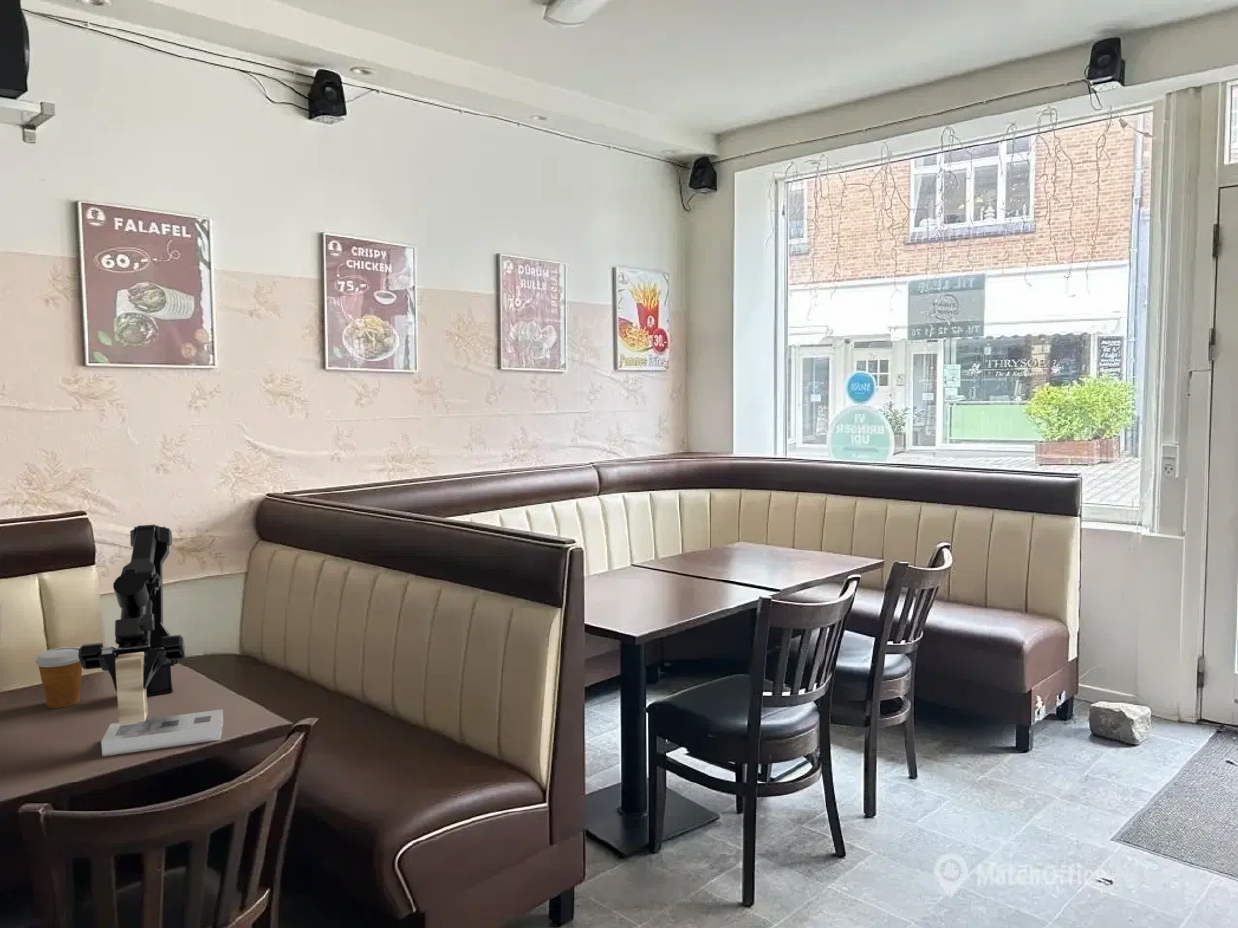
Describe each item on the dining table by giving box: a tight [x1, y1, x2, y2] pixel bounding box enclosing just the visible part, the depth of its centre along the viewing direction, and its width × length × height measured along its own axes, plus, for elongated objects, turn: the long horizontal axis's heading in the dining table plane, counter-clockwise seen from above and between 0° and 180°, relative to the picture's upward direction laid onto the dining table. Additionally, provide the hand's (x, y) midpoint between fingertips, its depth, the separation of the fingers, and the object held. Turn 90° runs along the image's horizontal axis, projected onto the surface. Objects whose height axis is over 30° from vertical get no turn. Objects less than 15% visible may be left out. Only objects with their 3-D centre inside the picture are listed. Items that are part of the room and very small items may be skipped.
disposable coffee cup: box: [35, 646, 83, 709], centre depth 203 cm, size 10×10×12 cm
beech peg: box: [115, 652, 149, 725], centre depth 178 cm, size 4×4×13 cm
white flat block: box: [100, 709, 224, 757], centre depth 181 cm, size 21×10×3 cm, turn 111°
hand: (130, 689), depth 177 cm, fingers closed on beech peg, 4 cm apart
